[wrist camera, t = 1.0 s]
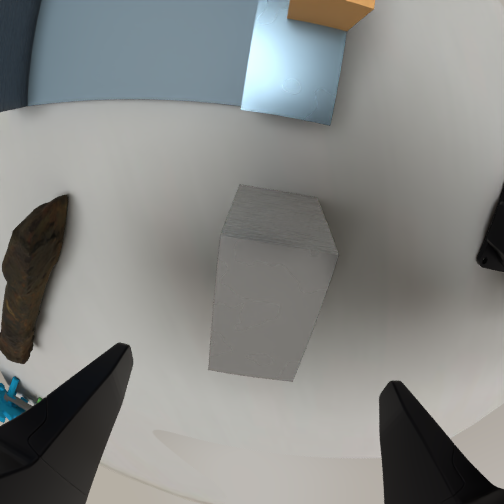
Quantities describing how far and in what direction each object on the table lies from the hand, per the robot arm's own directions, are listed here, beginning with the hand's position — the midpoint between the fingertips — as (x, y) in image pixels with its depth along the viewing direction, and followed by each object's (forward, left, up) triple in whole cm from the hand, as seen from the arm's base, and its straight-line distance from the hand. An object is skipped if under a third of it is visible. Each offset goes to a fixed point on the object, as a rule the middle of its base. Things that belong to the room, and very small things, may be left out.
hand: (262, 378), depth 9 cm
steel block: (0, 0, -9) cm, 9 cm away
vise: (+9, -13, -9) cm, 18 cm away
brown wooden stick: (+18, +6, -9) cm, 21 cm away
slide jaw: (+1, -13, -7) cm, 15 cm away
